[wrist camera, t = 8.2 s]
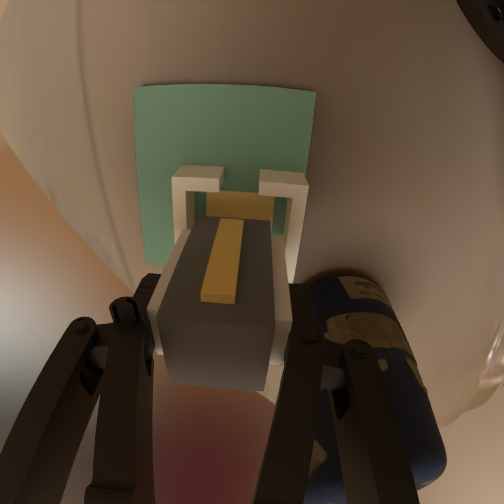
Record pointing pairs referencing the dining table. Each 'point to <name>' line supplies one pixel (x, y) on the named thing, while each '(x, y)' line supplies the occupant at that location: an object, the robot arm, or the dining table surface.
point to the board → (214, 146)
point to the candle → (395, 375)
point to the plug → (220, 306)
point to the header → (242, 202)
